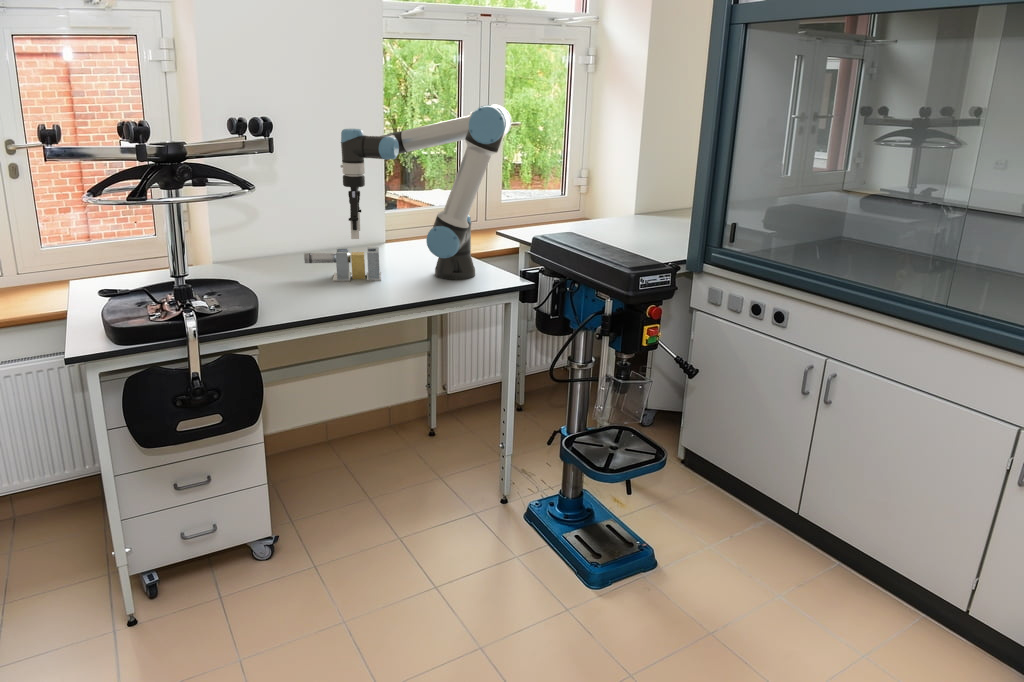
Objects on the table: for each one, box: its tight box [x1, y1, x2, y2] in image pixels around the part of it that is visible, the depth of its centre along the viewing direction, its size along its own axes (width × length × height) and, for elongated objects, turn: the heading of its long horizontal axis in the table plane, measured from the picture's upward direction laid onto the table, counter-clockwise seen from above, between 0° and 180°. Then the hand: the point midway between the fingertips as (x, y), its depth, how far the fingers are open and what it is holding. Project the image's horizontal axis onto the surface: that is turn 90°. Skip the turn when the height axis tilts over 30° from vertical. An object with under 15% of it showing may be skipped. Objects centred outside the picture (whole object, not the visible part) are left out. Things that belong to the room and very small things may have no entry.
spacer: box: [350, 251, 366, 280], centre depth 268 cm, size 4×4×9 cm
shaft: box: [303, 252, 352, 264], centre depth 266 cm, size 16×4×4 cm, turn 99°
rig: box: [332, 246, 382, 283], centre depth 268 cm, size 17×10×10 cm, turn 99°
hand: (355, 234), depth 264 cm, fingers open, 13 cm apart
